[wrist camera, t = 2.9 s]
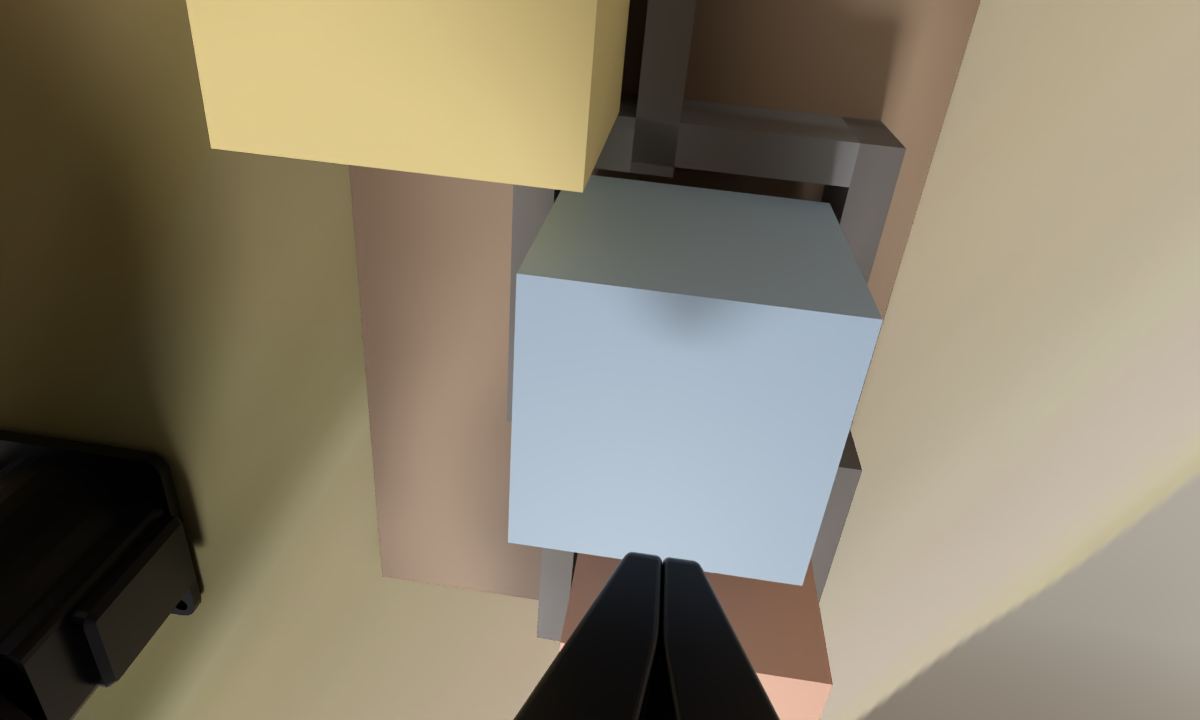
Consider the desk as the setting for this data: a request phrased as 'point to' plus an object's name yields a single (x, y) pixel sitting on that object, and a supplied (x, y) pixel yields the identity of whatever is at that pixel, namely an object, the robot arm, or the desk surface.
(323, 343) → the desk surface
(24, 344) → the desk surface
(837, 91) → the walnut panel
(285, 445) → the desk surface
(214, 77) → the yellow cube
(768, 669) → the peach cube
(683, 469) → the pale blue cube
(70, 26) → the desk surface
